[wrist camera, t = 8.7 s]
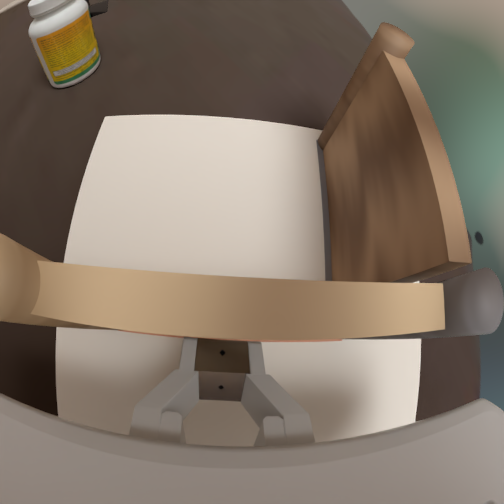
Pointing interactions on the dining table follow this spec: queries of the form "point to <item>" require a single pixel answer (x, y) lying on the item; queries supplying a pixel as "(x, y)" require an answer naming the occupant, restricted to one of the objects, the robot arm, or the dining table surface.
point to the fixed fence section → (399, 192)
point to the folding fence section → (208, 302)
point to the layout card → (219, 273)
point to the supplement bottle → (64, 40)
